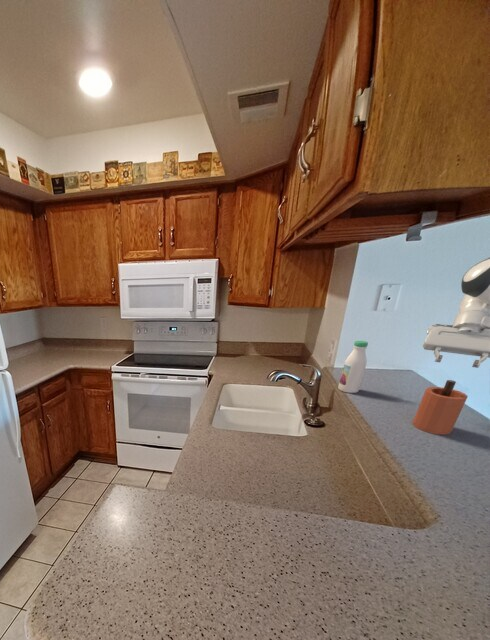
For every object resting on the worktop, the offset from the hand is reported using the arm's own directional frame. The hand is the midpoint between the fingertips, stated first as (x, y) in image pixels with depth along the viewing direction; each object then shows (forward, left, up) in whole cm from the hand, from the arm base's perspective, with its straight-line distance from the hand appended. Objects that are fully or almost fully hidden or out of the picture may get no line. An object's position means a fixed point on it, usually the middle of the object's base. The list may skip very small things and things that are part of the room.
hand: (456, 363), depth 103 cm
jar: (+3, +8, -19) cm, 21 cm away
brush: (+3, +8, -18) cm, 20 cm away
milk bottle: (+25, -20, -19) cm, 37 cm away
